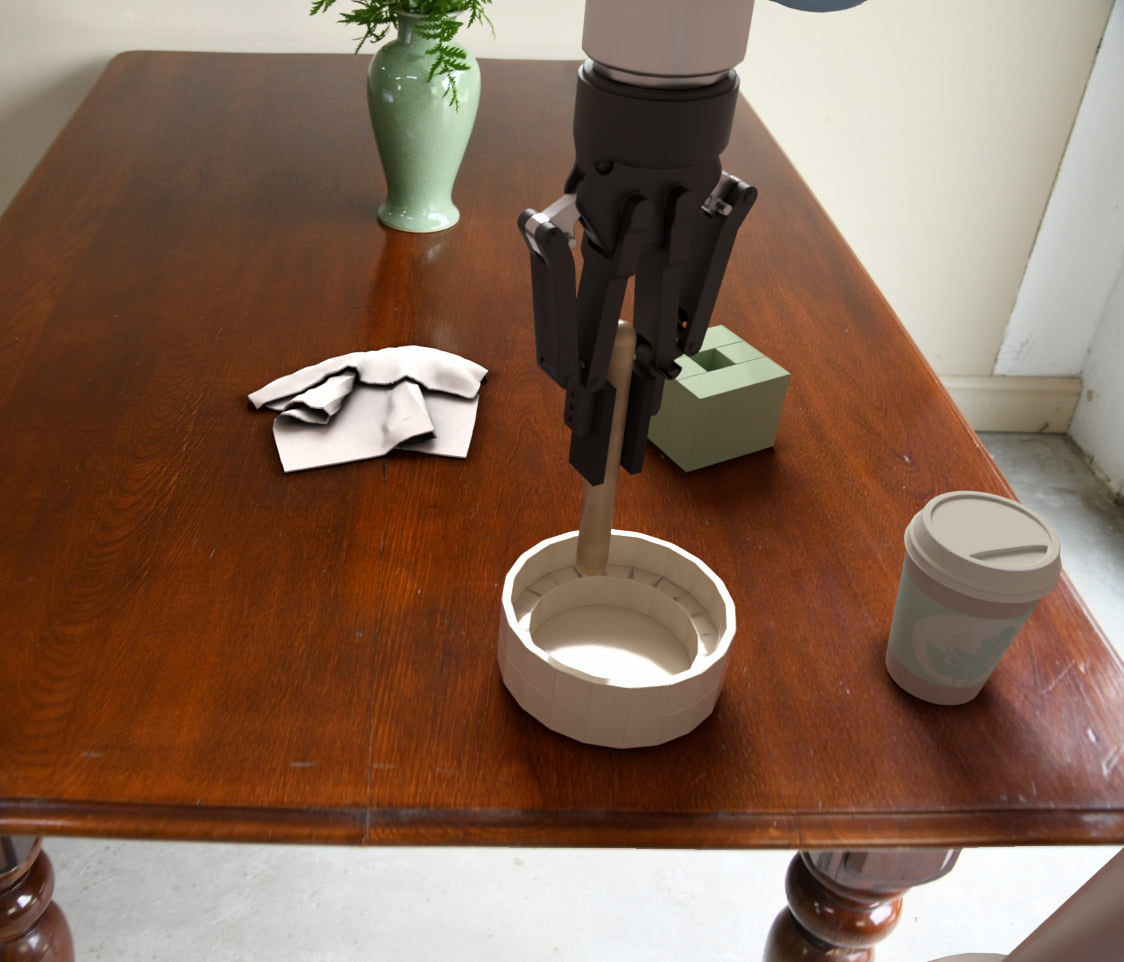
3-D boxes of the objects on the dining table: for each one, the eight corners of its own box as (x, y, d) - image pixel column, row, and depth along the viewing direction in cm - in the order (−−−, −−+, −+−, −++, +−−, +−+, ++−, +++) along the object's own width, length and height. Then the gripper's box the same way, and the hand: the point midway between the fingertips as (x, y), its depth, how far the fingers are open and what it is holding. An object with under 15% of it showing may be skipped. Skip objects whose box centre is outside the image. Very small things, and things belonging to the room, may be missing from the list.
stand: (773, 446, 93) (791, 373, 89) (686, 472, 90) (700, 399, 86) (708, 394, 100) (721, 324, 96) (624, 417, 97) (634, 346, 93)
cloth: (509, 364, 104) (511, 341, 102) (444, 504, 87) (445, 478, 86) (303, 331, 109) (301, 309, 107) (203, 457, 92) (200, 432, 91)
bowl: (766, 710, 70) (785, 641, 67) (571, 788, 66) (581, 719, 62) (636, 573, 81) (647, 507, 77) (460, 631, 76) (462, 564, 72)
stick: (611, 577, 72) (645, 325, 61) (585, 586, 71) (614, 333, 60) (594, 558, 73) (624, 310, 63) (568, 567, 72) (594, 317, 62)
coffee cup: (858, 700, 71) (910, 555, 64) (867, 612, 77) (915, 472, 70) (1006, 739, 69) (1077, 593, 61) (1002, 645, 75) (1066, 503, 68)
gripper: (738, 22, 58) (672, 406, 72) (480, 60, 53) (463, 464, 67) (841, 64, 52) (747, 469, 67) (563, 110, 47) (526, 538, 62)
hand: (604, 466), depth 67 cm, fingers closed on stick, 2 cm apart
